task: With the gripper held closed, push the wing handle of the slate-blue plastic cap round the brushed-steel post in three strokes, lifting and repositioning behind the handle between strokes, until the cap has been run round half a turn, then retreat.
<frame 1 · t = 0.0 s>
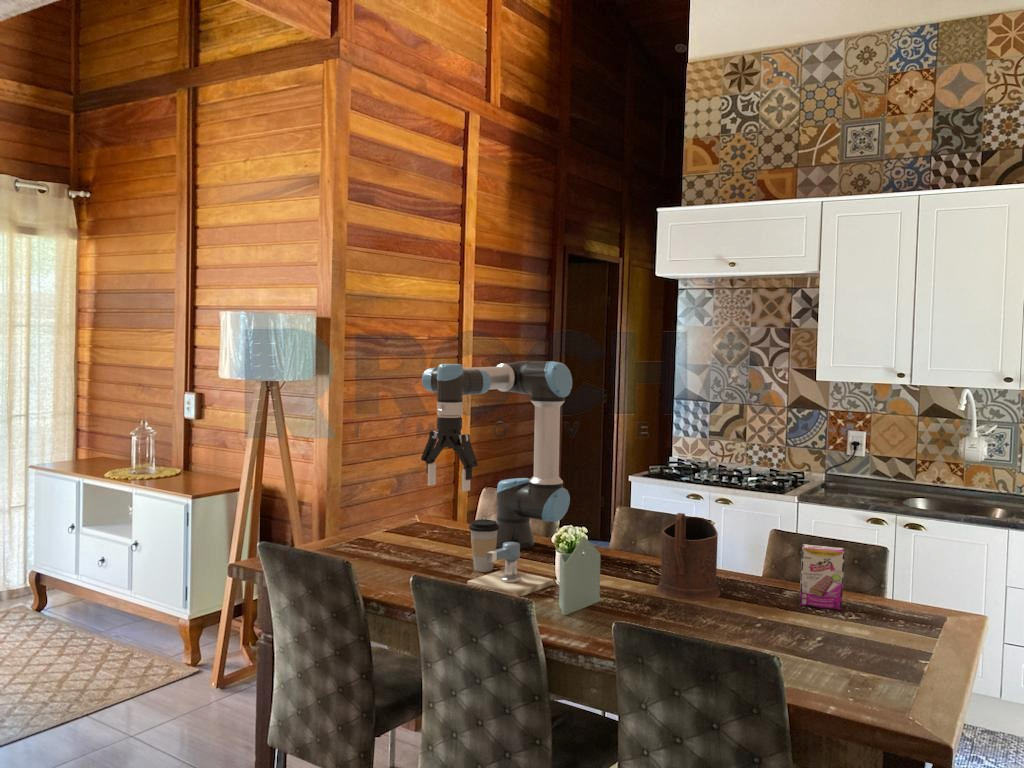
hand: (448, 488, 255), 28 cm above the table, fingers open, 13 cm apart
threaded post: (510, 569, 253), on the base board, point 5 cm above the table
coffee cup: (483, 570, 270), on the table
rusty brown jug: (685, 594, 249), on the table
cap: (503, 553, 250), point 10 cm above the table, hinge at 0.0°
base board: (510, 585, 254), on the table
planter: (570, 606, 236), on the table
candy bar box: (820, 606, 239), on the table
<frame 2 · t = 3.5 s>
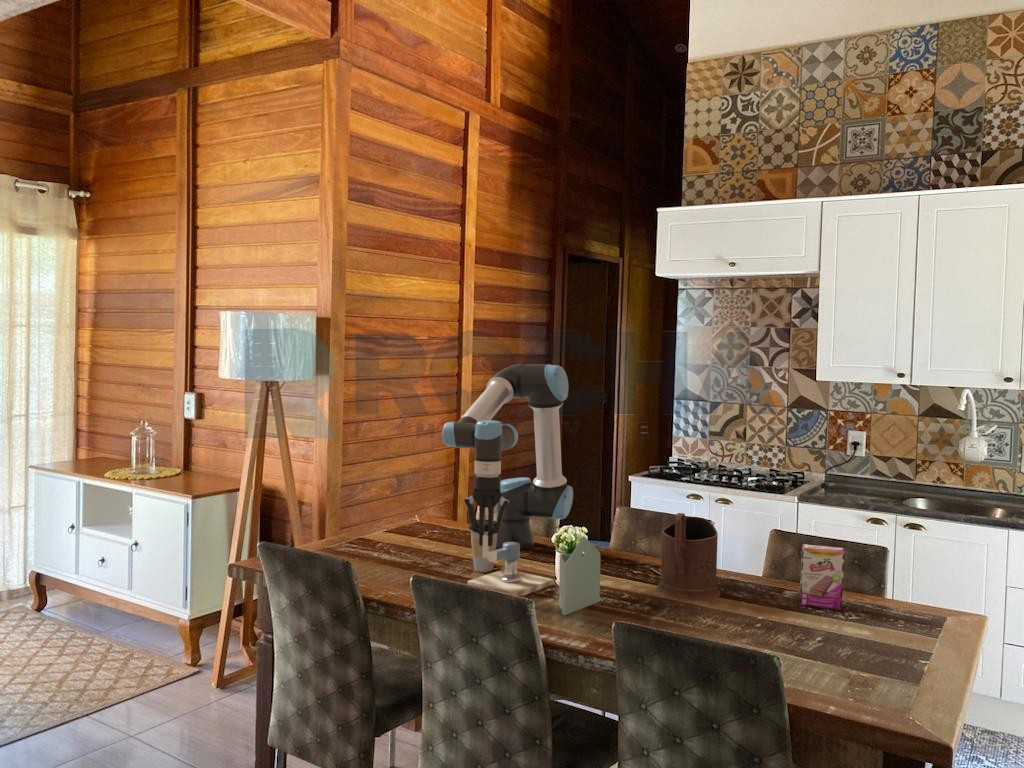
hand: (485, 556, 247), 10 cm above the table, fingers closed
cap: (503, 553, 250), point 10 cm above the table, hinge at 0.5°, touching gripper
everything else where it was.
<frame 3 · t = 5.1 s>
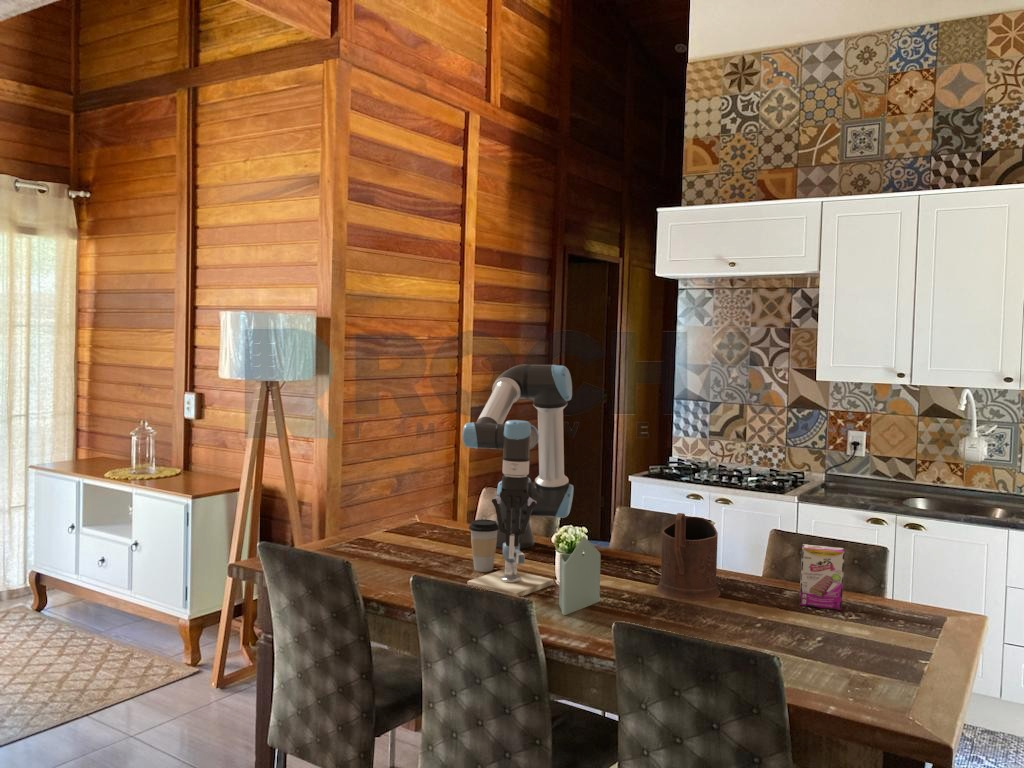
hand: (511, 557, 246), 10 cm above the table, fingers closed
cap: (514, 553, 250), point 10 cm above the table, hinge at 54.8°, touching gripper
everything else where it was.
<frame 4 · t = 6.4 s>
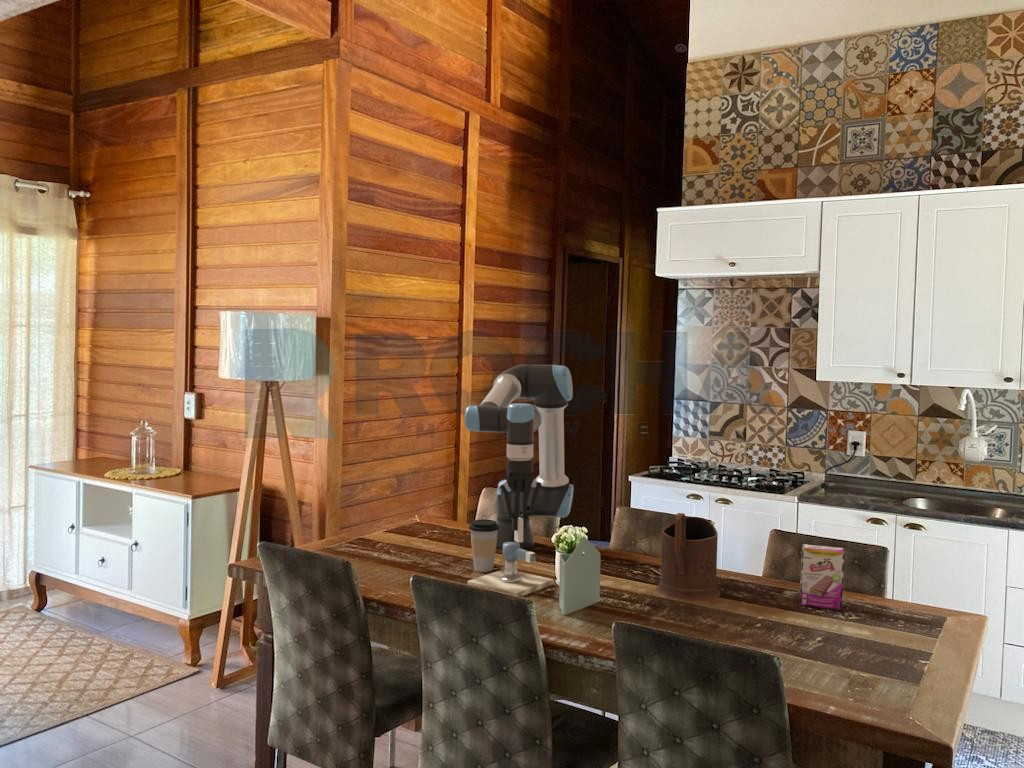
hand: (518, 541, 244), 15 cm above the table, fingers closed
cap: (519, 553, 250), point 10 cm above the table, hinge at 75.6°
everything else where it was.
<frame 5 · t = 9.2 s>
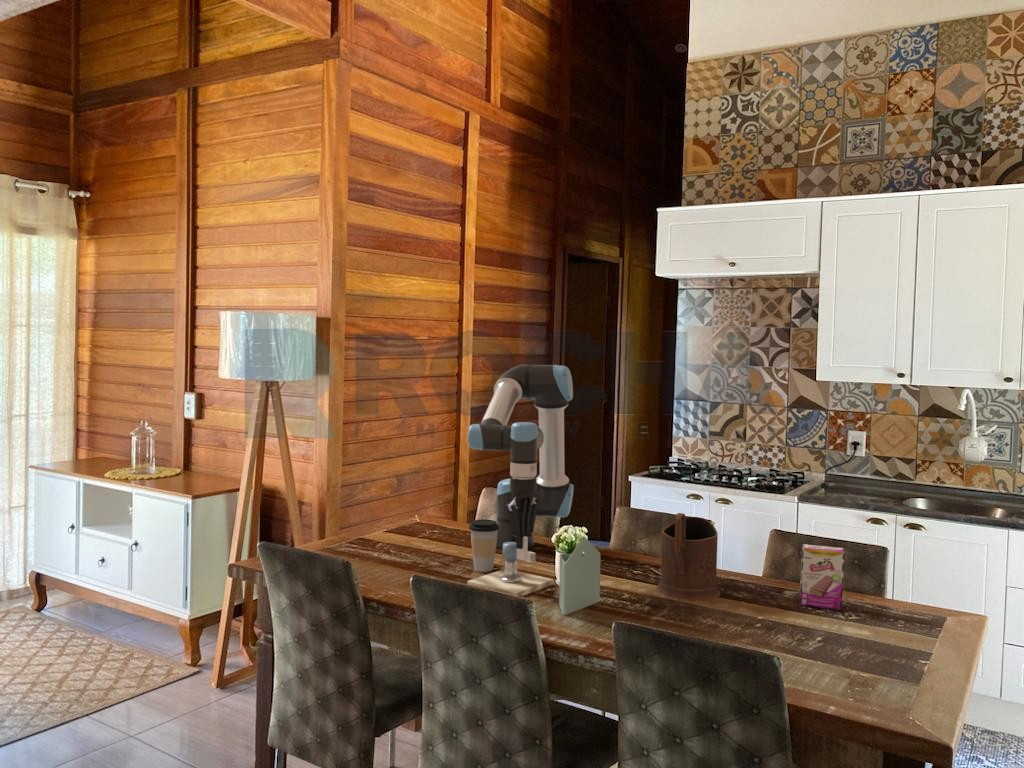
hand: (521, 559, 246), 10 cm above the table, fingers closed
cap: (519, 553, 250), point 10 cm above the table, hinge at 75.7°, touching gripper
everything else where it was.
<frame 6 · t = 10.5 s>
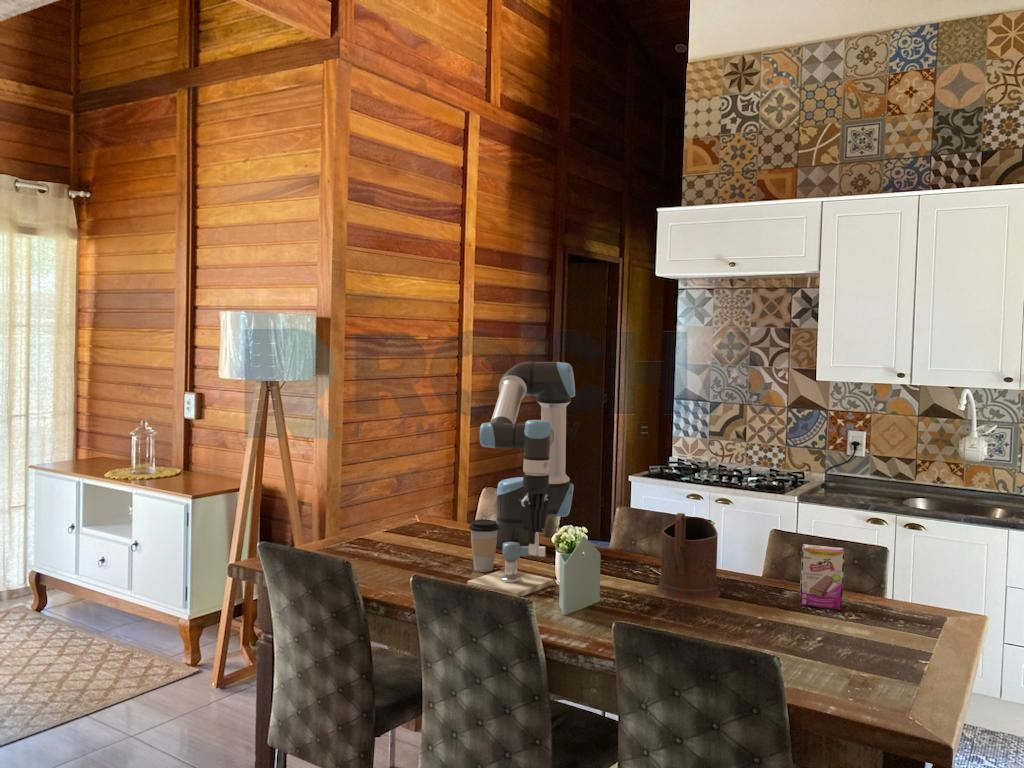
hand: (533, 554, 251), 10 cm above the table, fingers closed
cap: (523, 551, 253), point 10 cm above the table, hinge at 125.6°, touching gripper
everything else where it was.
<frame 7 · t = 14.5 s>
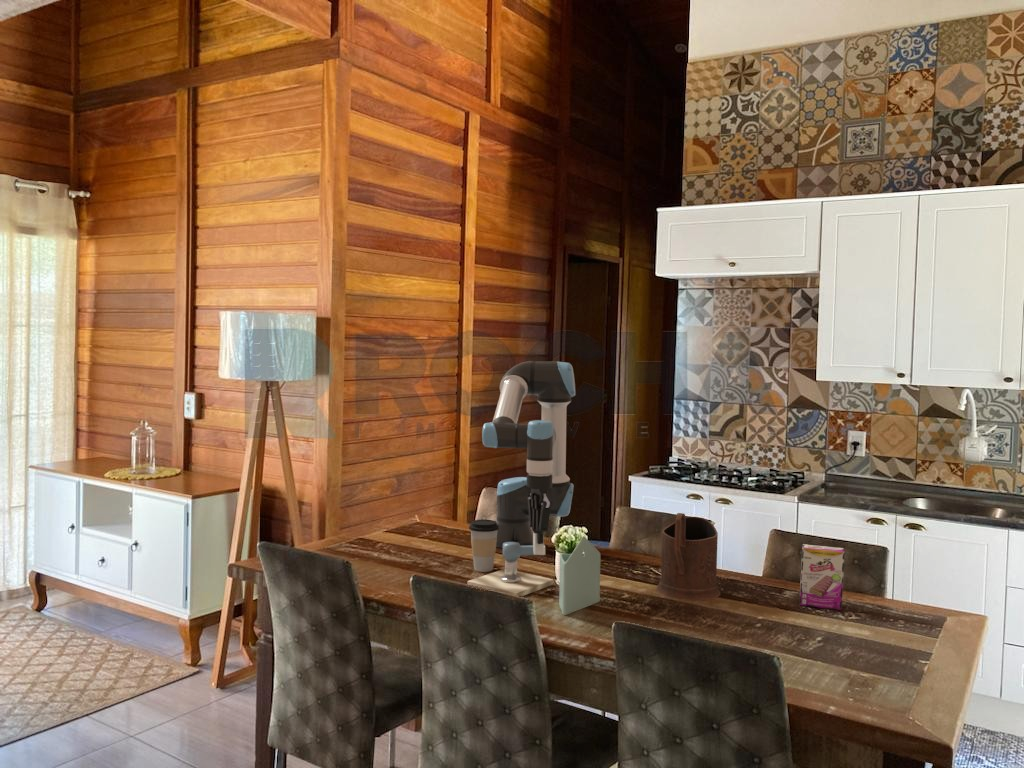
hand: (538, 553, 253), 10 cm above the table, fingers closed
cap: (523, 550, 254), point 10 cm above the table, hinge at 136.8°, touching gripper
everything else where it was.
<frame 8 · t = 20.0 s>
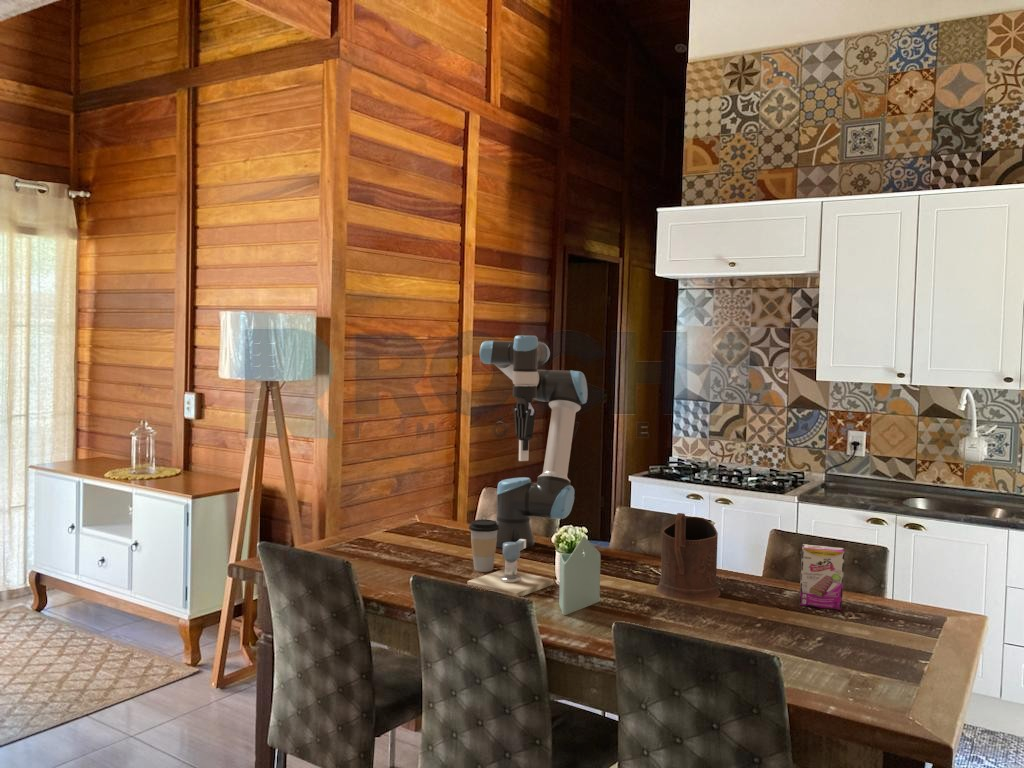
hand: (523, 460, 269), 34 cm above the table, fingers closed
cap: (515, 547, 257), point 10 cm above the table, hinge at 196.3°
everything else where it was.
at the end: cap at +196° (first picture: +0°); the gripper is holding nothing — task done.
